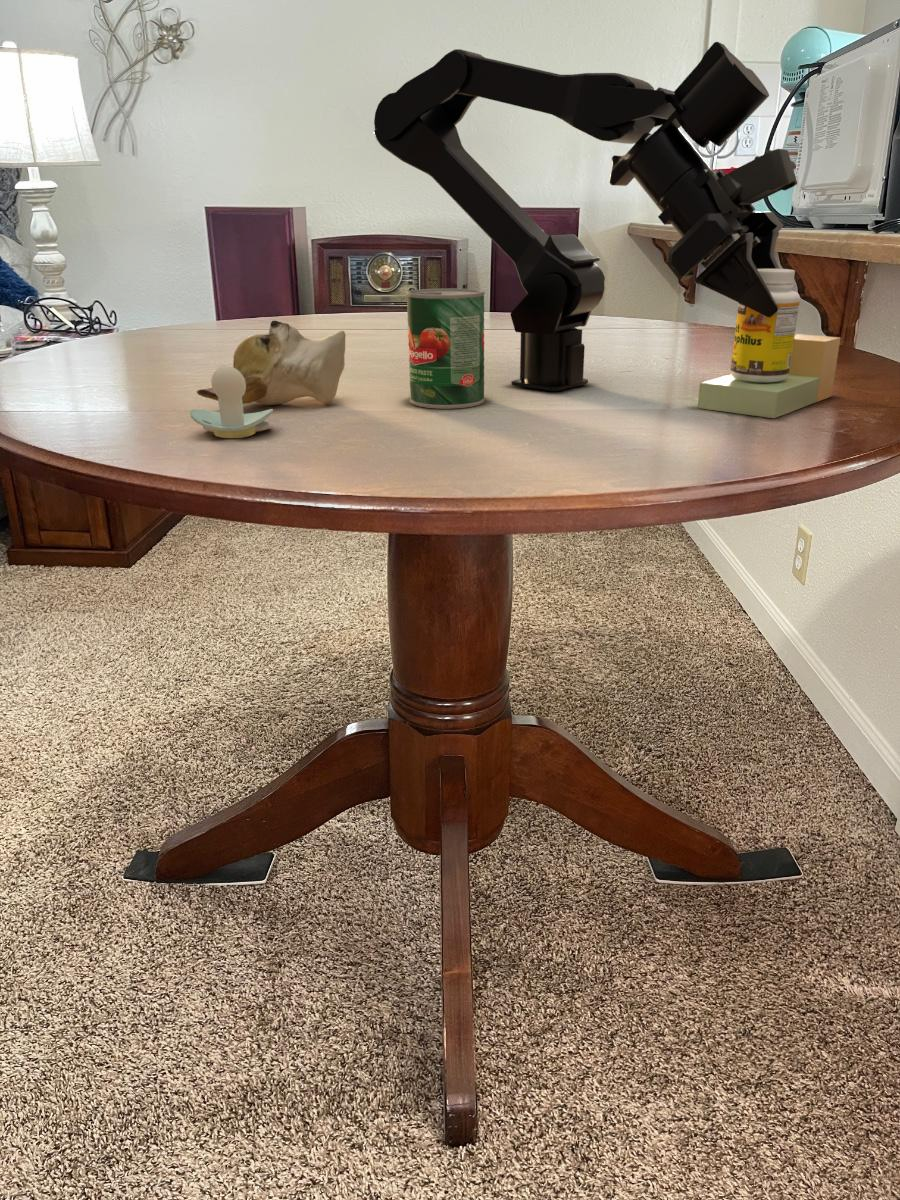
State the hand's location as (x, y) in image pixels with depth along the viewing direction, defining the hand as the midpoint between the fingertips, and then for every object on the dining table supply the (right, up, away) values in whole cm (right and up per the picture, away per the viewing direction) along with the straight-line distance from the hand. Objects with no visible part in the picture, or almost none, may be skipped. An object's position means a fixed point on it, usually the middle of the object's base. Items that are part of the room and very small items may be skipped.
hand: (781, 310), depth 85 cm
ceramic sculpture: (-50, -7, +8) cm, 51 cm away
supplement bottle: (-1, -6, +3) cm, 7 cm away
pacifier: (-51, -13, -4) cm, 53 cm away
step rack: (+1, -7, +6) cm, 10 cm away
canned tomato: (-32, -7, +8) cm, 34 cm away
